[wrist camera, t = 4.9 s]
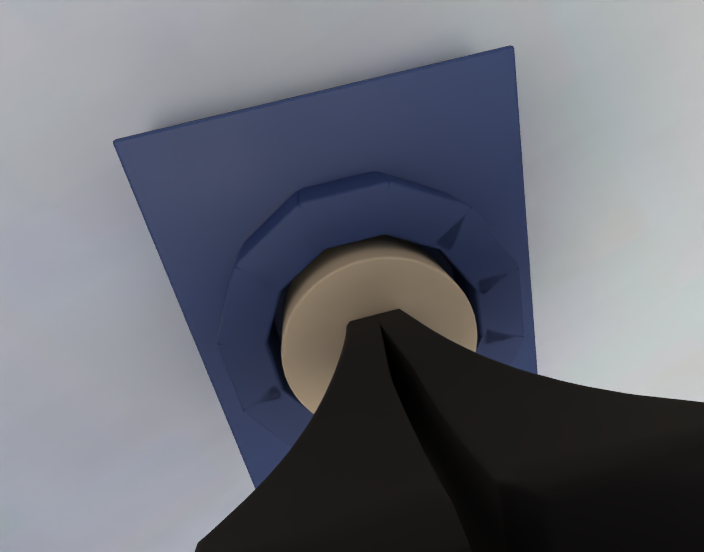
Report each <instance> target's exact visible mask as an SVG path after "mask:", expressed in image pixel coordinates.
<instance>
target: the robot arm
mask: <svg viewBox="0 0 704 552" xmlns="http://www.w3.org/2000/svg"><path fill="white" fill-rule="evenodd" d="M195 552H704V402H696V401H687V400H678V399H669V398H659V397H650V396H641V395H633V394H626V393H621V392H615V391H609V390H604V389H598V388H592V387H587V386H582V385H578V384H573V383H568V382H564V381H560V380H556V379H553V378H549V377H545V376H541V375H538V374H534V373H530V372H527V371H524V370H521V369H518V368H515V367H512V366H509V365H506V364H504V363H501V362H498V361H495V360H493V359H490V358H487V357H485V356H483V355H480V354H478V353H476V352H474V351H472V350H469V349H467V348H465V347H463V346H461V345H459V344H457V343H455V342H453V341H451V340H449V339H447V338H446V337H444V336H442V335H440V334H439V333H437V332H435V331H433V330H432V329H430V328H429V327H427V326H425V325H424V324H422V323H421V322H419V321H418V320H416V319H415V318H413V317H412V316H410V315H409V314H407V313H405V312H404V311H402V310H401V309H395V310H392V311H388V312H384V313H380V314H376V315H372V316H368V317H364V318H361V319H357V320H353V321H350V322H349V323H348V325H347V326H346V336H345V341H344V344H343V348H342V352H341V355H340V358H339V361H338V364H337V367H336V369H335V372H334V374H333V376H332V379H331V381H330V383H329V386H328V388H327V390H326V392H325V394H324V396H323V398H322V400H321V402H320V404H319V406H318V408H317V410H316V411H315V413H314V415H313V416H312V418H311V420H310V421H309V423H308V425H307V426H306V428H305V429H304V431H303V432H302V433H301V435H300V436H299V438H298V439H297V441H296V442H295V444H294V445H293V446H292V448H291V449H290V450H289V452H288V453H287V454H286V456H285V457H284V458H283V459H282V460H281V462H280V463H279V464H278V465H277V466H276V467H275V469H274V470H273V471H272V472H271V473H270V474H269V475H268V476H267V477H266V479H265V480H264V481H263V482H262V483H261V484H260V485H259V486H258V487H257V488H256V489H255V490H254V491H253V492H252V493H251V494H250V495H249V496H248V497H247V498H246V499H245V500H244V501H243V502H242V503H241V504H240V505H239V506H238V507H237V508H236V509H235V510H234V511H233V512H231V513H230V514H229V515H228V516H227V517H226V518H225V519H224V520H223V521H222V522H221V523H220V524H218V525H217V526H216V527H215V528H214V529H213V530H212V531H211V532H210V533H209V534H208V535H206V536H205V537H204V538H203V539H202V540H201V541H199V542H198V544H197V547H196V550H195Z"/></svg>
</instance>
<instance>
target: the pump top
mask: <svg viewBox="0 0 704 552" xmlns="http://www.w3.org/2000/svg"><path fill="white" fill-rule="evenodd" d="M395 309H401V310H402V311H404V312H405V313H407V314H409V315H410V316H412V317H413V318H415V319H416V320H418V321H419V322H421V323H422V324H424V325H425V326H427V327H429V328H430V329H432V330H433V331H435V332H437V333H439V334H440V335H442V336H444V337H446V338H447V339H449V340H451V341H453V342H455V343H457V344H459V345H461V346H463V347H465V348H467V349H469V350H472V351H474V352H476V346H477V325H476V320H475V315H474V312H473V310H472V307H471V304H470V302H469V301H468V299H467V297H466V295H465V294H464V292H463V291H462V290H461V288H460V287H459V286H458V285H457V284H456V282H455V281H454V280H453V279H452V278H451V277H450V276H449V275H448V274H447V273H446V272H445V271H444V270H443V269H442V268H441V266H440V265H439V264H438V263H437V262H436V261H435V260H434V259H433V258H432V257H431V256H430V255H429V254H428V253H427V252H426V251H424V250H423V249H421V248H420V247H419V246H417V245H415V244H413V243H411V242H409V241H407V240H403V239H400V238H396V237H392V236H389V235H385V234H384V235H380V236H376V237H372V238H368V239H364V240H360V241H356V242H352V243H348V244H344V245H340V246H336V247H332V248H328V249H325V250H324V251H323V252H322V253H321V254H320V255H319V256H318V257H317V258H316V259H314V260H313V261H312V262H311V263H310V264H309V265H308V266H307V267H306V268H305V269H304V270H303V271H302V272H301V273H299V274H298V275H297V276H296V277H295V278H294V279H293V281H292V283H291V285H290V286H289V289H288V292H287V295H286V298H285V303H284V311H283V329H282V346H281V357H282V366H283V370H284V374H285V377H286V379H287V382H288V384H289V386H290V388H291V390H292V391H293V393H294V394H295V396H296V397H297V398H298V400H299V401H300V402H301V403H302V404H303V405H304V406H305V407H306V408H307V409H308V410H309V411H310V412H311V413H313V414H314V413H315V411H316V410H317V408H318V406H319V404H320V402H321V400H322V398H323V396H324V394H325V392H326V390H327V388H328V386H329V383H330V381H331V379H332V376H333V374H334V372H335V369H336V367H337V364H338V361H339V358H340V355H341V352H342V348H343V344H344V341H345V336H346V326H347V325H348V323H349V322H350V321H353V320H357V319H361V318H364V317H368V316H372V315H376V314H380V313H384V312H388V311H392V310H395Z"/></svg>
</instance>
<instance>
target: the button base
mask: <svg viewBox="0 0 704 552" xmlns="http://www.w3.org/2000/svg"><path fill="white" fill-rule="evenodd" d="M113 145H114V147H115V149H116V152H117V154H118V157H119V159H120V161H121V164H122V166H123V169H124V171H125V174H126V176H127V178H128V181H129V183H130V186H131V188H132V191H133V193H134V195H135V198H136V200H137V203H138V205H139V208H140V210H141V212H142V215H143V217H144V220H145V222H146V225H147V227H148V229H149V232H150V234H151V237H152V239H153V242H154V244H155V246H156V249H157V251H158V254H159V256H160V259H161V261H162V263H163V266H164V268H165V271H166V273H167V276H168V278H169V280H170V283H171V285H172V288H173V290H174V292H175V295H176V297H177V300H178V302H179V305H180V307H181V309H182V312H183V314H184V317H185V319H186V322H187V324H188V326H189V329H190V331H191V334H192V336H193V339H194V341H195V343H196V346H197V348H198V351H199V353H200V356H201V358H202V360H203V363H204V365H205V368H206V370H207V373H208V375H209V377H210V380H211V382H212V385H213V387H214V390H215V392H216V394H217V397H218V399H219V402H220V404H221V406H222V409H223V411H224V414H225V416H226V419H227V421H228V423H229V426H230V428H231V431H232V433H233V436H234V438H235V440H236V443H237V445H238V448H239V450H240V453H241V455H242V457H243V460H244V462H245V465H246V467H247V470H248V472H249V474H250V477H251V479H252V482H253V484H254V487H255V489H256V488H257V487H258V486H259V485H260V484H261V483H262V482H263V481H264V480H265V479H266V477H267V476H268V475H269V474H270V473H271V472H272V471H273V470H274V469H275V467H276V466H277V465H278V464H279V463H280V462H281V460H282V459H283V458H284V457H285V456H286V454H287V453H288V452H289V450H290V449H291V448H292V446H293V445H294V444H295V442H296V441H297V439H298V438H299V436H300V435H301V433H302V432H303V431H304V429H305V428H306V426H307V425H308V423H309V421H310V420H311V418H312V416H313V415H314V414H313V413H311V412H310V411H309V410H308V409H307V408H306V407H305V406H304V405H303V404H302V403H301V402H300V401H299V400H298V398H297V397H296V396H295V394H294V393H293V391H292V390H291V388H290V386H289V384H288V382H287V379H286V377H285V374H284V370H283V366H282V357H281V346H282V329H283V311H284V303H285V298H286V295H287V292H288V289H289V286H290V285H291V283H292V281H293V279H294V278H295V277H296V276H297V275H298V274H299V273H301V272H302V271H303V270H304V269H305V268H306V267H307V266H308V265H309V264H310V263H311V262H312V261H313V260H314V259H316V258H317V257H318V256H319V255H320V254H321V253H322V252H323V251H324V250H325V249H328V248H332V247H336V246H340V245H344V244H348V243H352V242H356V241H360V240H364V239H368V238H372V237H376V236H380V235H384V234H385V235H389V236H392V237H396V238H400V239H403V240H407V241H409V242H411V243H413V244H415V245H417V246H419V247H420V248H421V249H423V250H424V251H426V252H427V253H428V254H429V255H430V256H431V257H432V258H433V259H434V260H435V261H436V262H437V263H438V264H439V265H440V266H441V268H442V269H443V270H444V271H445V272H446V273H447V274H448V275H449V276H450V277H451V278H452V279H453V280H454V281H455V282H456V284H457V285H458V286H459V287H460V288H461V290H462V291H463V292H464V294H465V295H466V297H467V299H468V301H469V302H470V304H471V307H472V310H473V312H474V315H475V320H476V325H477V346H476V353H478V354H480V355H483V356H485V357H487V358H490V359H493V360H495V361H498V362H501V363H504V364H506V365H509V366H512V367H515V368H518V369H521V370H524V371H527V372H530V373H534V374H537V361H536V347H535V333H534V319H533V305H532V292H531V278H530V264H529V250H528V236H527V222H526V208H525V194H524V180H523V166H522V152H521V138H520V124H519V110H518V96H517V82H516V68H515V54H514V47H513V46H506V47H502V48H497V49H493V50H489V51H485V52H481V53H476V54H472V55H468V56H464V57H460V58H455V59H451V60H447V61H443V62H439V63H434V64H430V65H426V66H422V67H418V68H413V69H409V70H405V71H401V72H397V73H392V74H388V75H384V76H380V77H376V78H371V79H367V80H363V81H359V82H355V83H350V84H346V85H342V86H338V87H334V88H329V89H325V90H321V91H317V92H313V93H308V94H304V95H300V96H296V97H292V98H287V99H283V100H279V101H275V102H271V103H266V104H262V105H258V106H254V107H250V108H245V109H241V110H237V111H233V112H229V113H224V114H220V115H216V116H212V117H208V118H203V119H199V120H195V121H191V122H187V123H182V124H178V125H174V126H170V127H166V128H161V129H157V130H153V131H149V132H145V133H140V134H136V135H132V136H128V137H124V138H119V139H115V140H114V141H113Z"/></svg>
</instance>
